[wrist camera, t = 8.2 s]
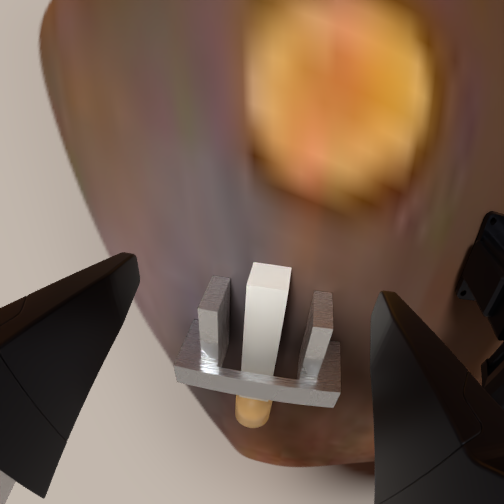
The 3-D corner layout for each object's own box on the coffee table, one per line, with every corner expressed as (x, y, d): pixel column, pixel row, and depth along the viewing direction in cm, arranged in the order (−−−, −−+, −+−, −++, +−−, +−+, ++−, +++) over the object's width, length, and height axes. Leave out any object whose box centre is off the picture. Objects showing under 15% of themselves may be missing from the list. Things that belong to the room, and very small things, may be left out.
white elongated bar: (247, 261, 20) (236, 292, 18) (297, 268, 20) (294, 300, 17) (238, 397, 29) (232, 424, 26) (271, 402, 28) (266, 430, 26)
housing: (355, 296, 20) (361, 348, 16) (333, 358, 24) (333, 407, 20) (190, 271, 22) (164, 317, 18) (195, 336, 25) (176, 381, 21)
